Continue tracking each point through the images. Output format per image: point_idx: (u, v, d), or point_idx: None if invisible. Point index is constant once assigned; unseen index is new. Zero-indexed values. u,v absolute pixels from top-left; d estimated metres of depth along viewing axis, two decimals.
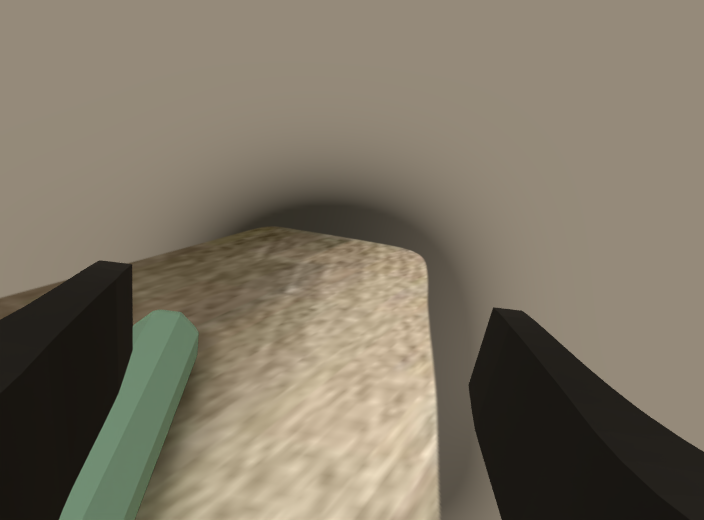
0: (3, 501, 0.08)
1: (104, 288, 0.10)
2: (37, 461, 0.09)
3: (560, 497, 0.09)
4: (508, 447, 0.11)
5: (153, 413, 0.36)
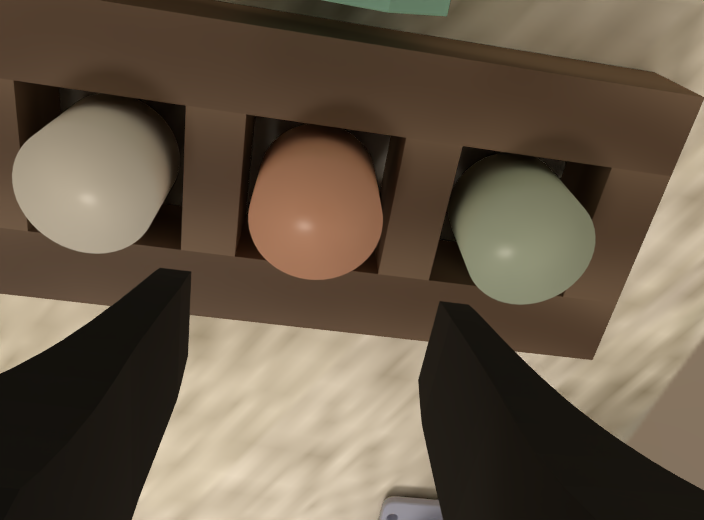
0: (96, 508, 0.08)
1: (171, 296, 0.10)
2: (119, 468, 0.09)
3: (488, 491, 0.09)
4: (448, 441, 0.11)
5: None
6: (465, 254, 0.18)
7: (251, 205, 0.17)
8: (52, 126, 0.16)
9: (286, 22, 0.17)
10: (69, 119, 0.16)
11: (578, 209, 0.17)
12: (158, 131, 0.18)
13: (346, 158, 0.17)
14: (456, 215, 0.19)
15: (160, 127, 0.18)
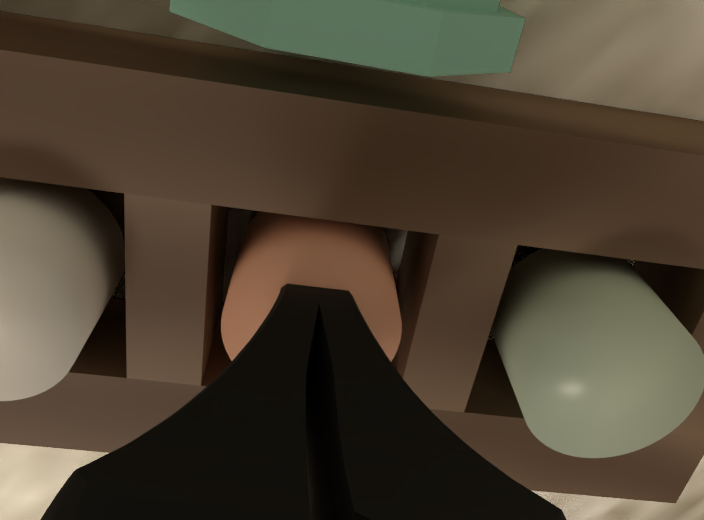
0: None
1: (315, 312, 0.11)
2: None
3: (322, 476, 0.09)
4: (312, 429, 0.11)
5: None
6: (521, 397, 0.13)
7: (224, 311, 0.12)
8: None
9: (268, 73, 0.12)
10: None
11: (686, 340, 0.12)
12: (90, 223, 0.13)
13: (352, 248, 0.12)
14: (504, 331, 0.14)
15: (94, 216, 0.13)
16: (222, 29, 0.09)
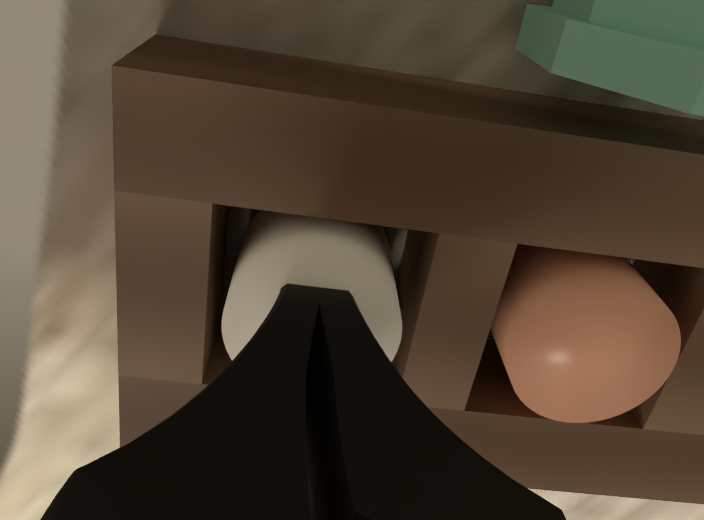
0: None
1: (316, 312, 0.11)
2: None
3: (322, 476, 0.09)
4: (311, 429, 0.11)
5: None
6: None
7: (518, 340, 0.13)
8: (284, 254, 0.12)
9: (571, 119, 0.13)
10: (301, 242, 0.12)
11: None
12: (382, 240, 0.14)
13: (639, 281, 0.13)
14: None
15: (380, 233, 0.14)
16: (627, 93, 0.10)
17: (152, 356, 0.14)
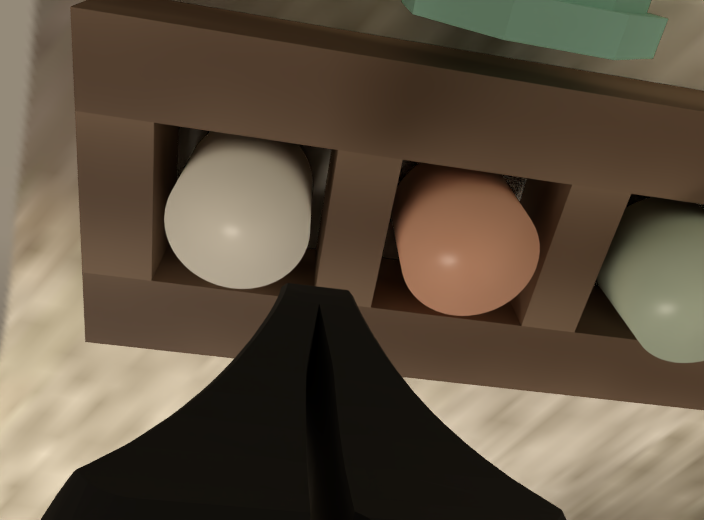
0: None
1: (315, 313, 0.11)
2: None
3: (322, 476, 0.09)
4: (312, 429, 0.11)
5: None
6: (633, 311, 0.16)
7: (406, 241, 0.16)
8: (212, 160, 0.15)
9: (447, 59, 0.16)
10: (227, 153, 0.15)
11: None
12: (301, 161, 0.17)
13: (504, 193, 0.16)
14: (611, 265, 0.18)
15: (301, 157, 0.17)
16: (463, 26, 0.13)
17: (109, 255, 0.17)
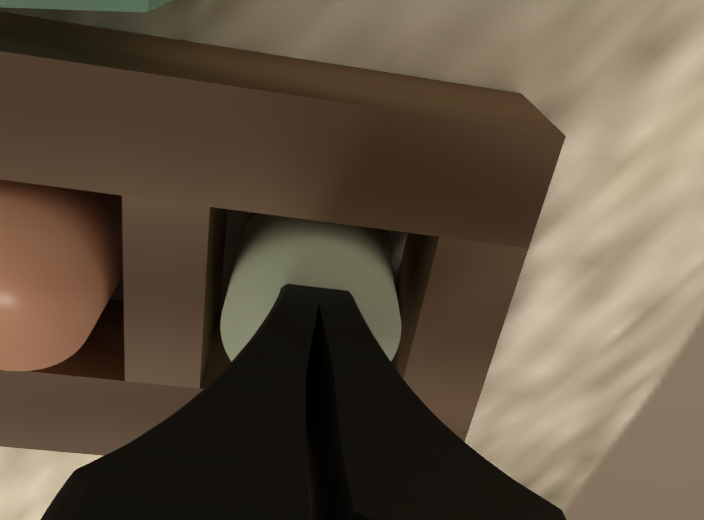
0: None
1: (315, 313, 0.11)
2: None
3: (322, 476, 0.09)
4: (312, 428, 0.11)
5: None
6: (222, 337, 0.13)
7: None
8: None
9: None
10: None
11: (368, 278, 0.12)
12: None
13: (32, 208, 0.12)
14: None
15: None
16: None
17: None
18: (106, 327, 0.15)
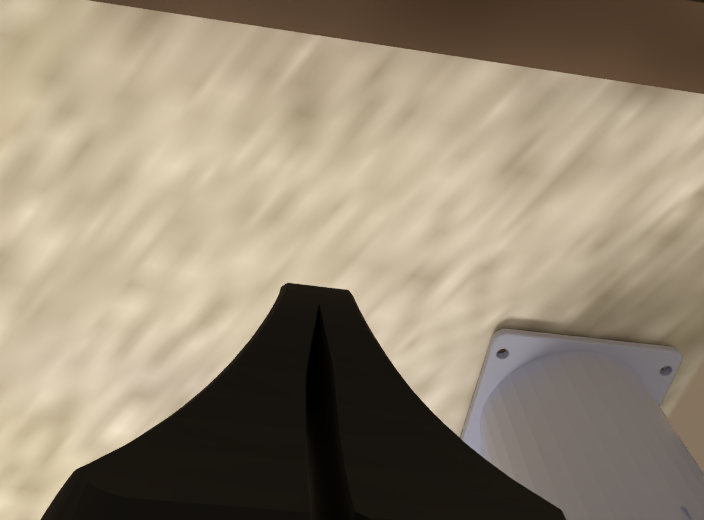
0: None
1: (315, 312, 0.11)
2: None
3: (322, 476, 0.09)
4: (312, 429, 0.11)
5: None
6: None
7: None
8: None
9: None
10: None
11: None
12: None
13: None
14: None
15: None
16: None
17: None
18: None
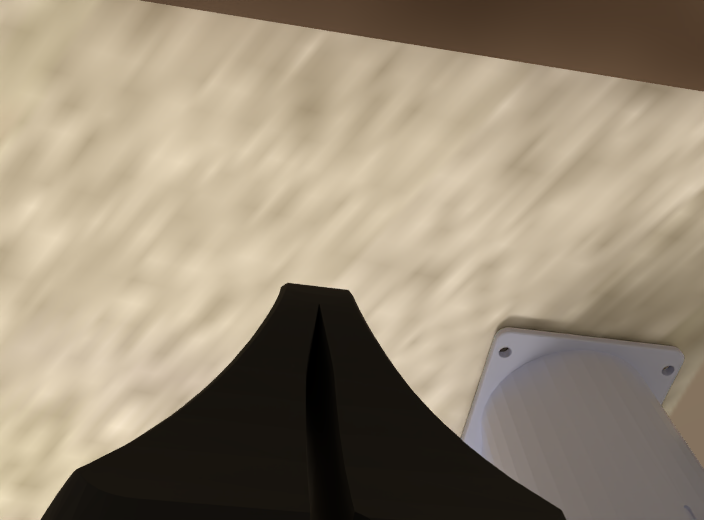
0: None
1: (316, 313, 0.11)
2: None
3: (322, 476, 0.09)
4: (312, 428, 0.11)
5: None
6: None
7: None
8: None
9: None
10: None
11: None
12: None
13: None
14: None
15: None
16: None
17: None
18: None
